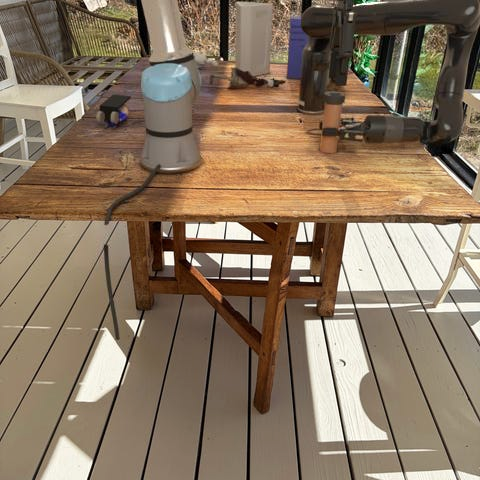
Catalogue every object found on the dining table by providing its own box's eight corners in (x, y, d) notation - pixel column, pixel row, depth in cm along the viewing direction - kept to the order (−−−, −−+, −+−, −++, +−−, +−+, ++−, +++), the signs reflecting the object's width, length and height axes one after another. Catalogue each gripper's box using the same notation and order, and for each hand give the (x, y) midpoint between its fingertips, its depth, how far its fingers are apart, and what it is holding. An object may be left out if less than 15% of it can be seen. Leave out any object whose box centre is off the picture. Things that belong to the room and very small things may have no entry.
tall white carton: (273, 76, 210) (276, 6, 196) (239, 77, 209) (240, 6, 194) (266, 67, 226) (268, 2, 212) (235, 67, 225) (235, 1, 210)
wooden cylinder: (337, 153, 131) (344, 98, 123) (320, 152, 131) (326, 97, 123) (335, 147, 135) (342, 93, 127) (319, 147, 135) (324, 92, 127)
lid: (345, 104, 123) (346, 96, 122) (324, 104, 124) (325, 96, 123) (343, 99, 128) (344, 91, 127) (322, 98, 128) (323, 90, 127)
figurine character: (119, 135, 145) (134, 115, 156) (115, 111, 140) (131, 93, 152) (98, 134, 145) (114, 114, 157) (93, 110, 141) (110, 92, 152)
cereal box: (326, 77, 211) (332, 17, 198) (327, 79, 206) (333, 19, 194) (286, 76, 211) (290, 16, 199) (287, 78, 207) (290, 18, 195)
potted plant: (332, 93, 201) (333, 95, 187) (318, 79, 200) (318, 79, 186) (355, 70, 197) (357, 69, 183) (340, 55, 196) (341, 53, 182)
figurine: (210, 87, 179) (288, 95, 182) (212, 65, 176) (291, 73, 180) (208, 84, 201) (278, 91, 205) (210, 64, 198) (280, 71, 202)
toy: (173, 75, 210) (172, 58, 207) (149, 64, 228) (148, 49, 224) (220, 69, 222) (220, 53, 218) (194, 59, 239) (193, 45, 236)
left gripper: (323, -21, 120) (315, 73, 132) (341, -17, 102) (330, 91, 114) (353, -21, 120) (342, 73, 132) (376, -17, 103) (361, 91, 115)
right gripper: (379, 108, 134) (318, 107, 134) (392, 124, 122) (326, 123, 122) (374, 134, 138) (315, 133, 138) (387, 152, 125) (323, 151, 125)
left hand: (337, 81), depth 123 cm, fingers open, 7 cm apart
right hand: (321, 128), depth 130 cm, fingers closed on wooden cylinder, 4 cm apart
